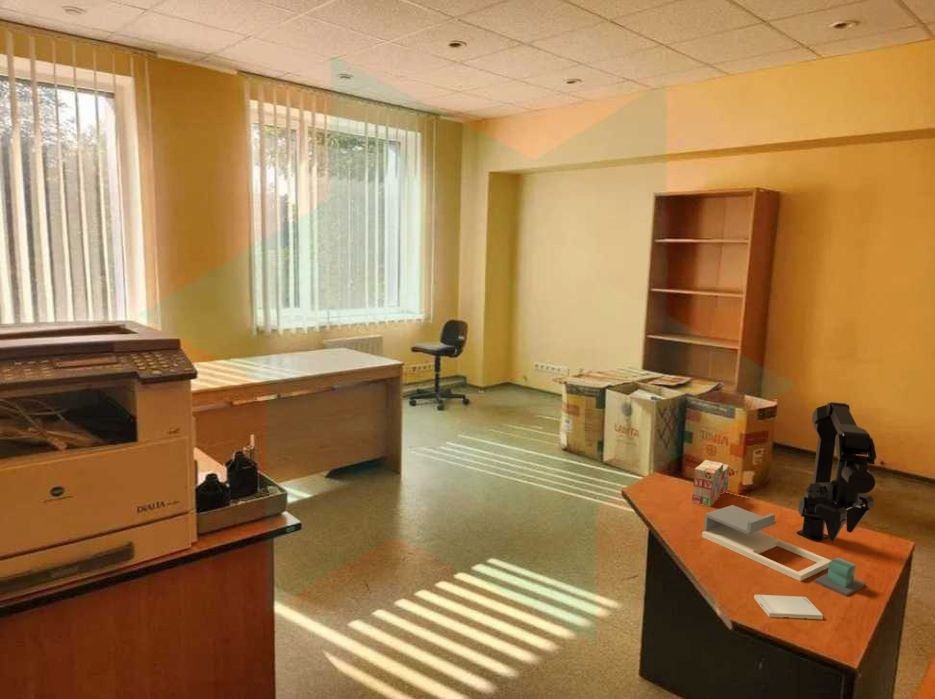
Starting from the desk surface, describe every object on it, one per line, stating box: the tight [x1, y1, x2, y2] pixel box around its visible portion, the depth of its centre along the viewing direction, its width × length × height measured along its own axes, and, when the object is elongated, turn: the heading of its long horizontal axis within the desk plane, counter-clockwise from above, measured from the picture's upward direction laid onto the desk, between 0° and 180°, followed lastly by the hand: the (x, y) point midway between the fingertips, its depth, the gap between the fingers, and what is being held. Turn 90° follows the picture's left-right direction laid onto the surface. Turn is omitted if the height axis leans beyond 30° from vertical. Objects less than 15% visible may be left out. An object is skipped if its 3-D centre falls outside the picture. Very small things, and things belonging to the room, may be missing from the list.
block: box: [827, 557, 856, 587], centre depth 162 cm, size 4×4×5 cm
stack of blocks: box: [691, 459, 730, 507], centre depth 219 cm, size 21×6×12 cm, turn 143°
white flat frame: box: [701, 524, 832, 582], centre depth 179 cm, size 16×30×2 cm, turn 34°
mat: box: [813, 572, 867, 597], centre depth 163 cm, size 10×8×1 cm
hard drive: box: [753, 594, 824, 620], centre depth 150 cm, size 2×8×12 cm
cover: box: [703, 504, 777, 534], centre depth 186 cm, size 14×14×8 cm
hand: (840, 536), depth 164 cm, fingers open, 9 cm apart
